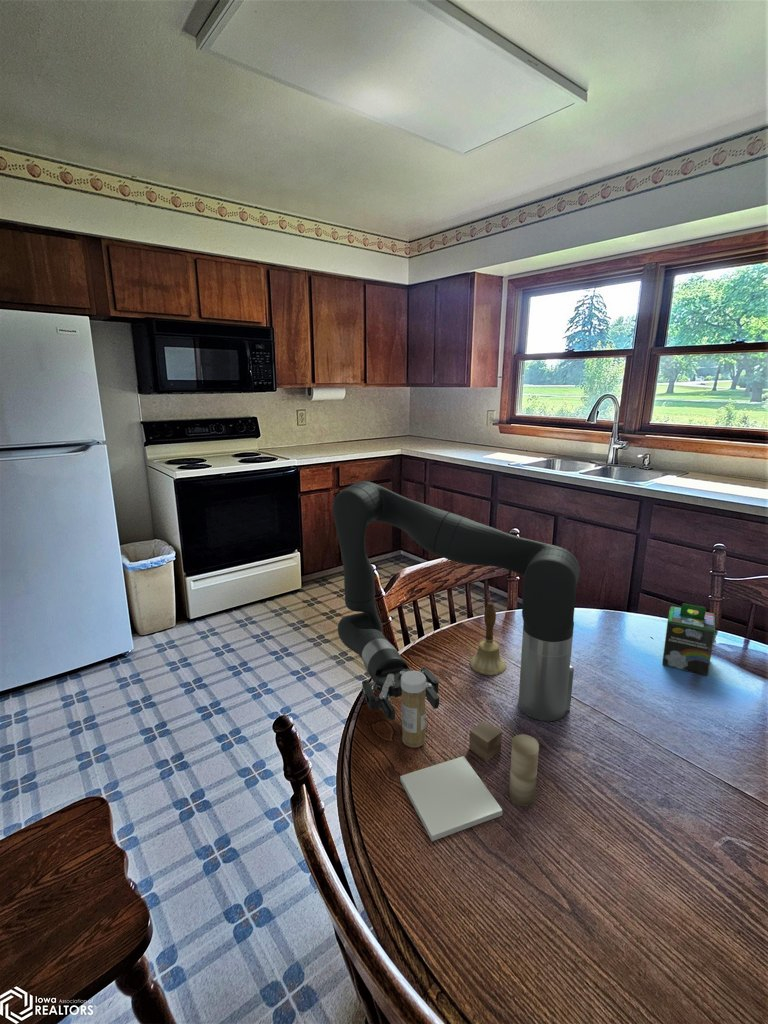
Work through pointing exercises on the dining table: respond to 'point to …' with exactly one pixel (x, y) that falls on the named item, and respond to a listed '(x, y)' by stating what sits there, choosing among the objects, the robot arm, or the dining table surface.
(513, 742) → the beech dowel
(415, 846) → the dining table surface
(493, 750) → the walnut block
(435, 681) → the robot arm
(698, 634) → the chalk box
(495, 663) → the hand bell
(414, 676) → the sprinkles bottle
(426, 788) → the ceramic tile
